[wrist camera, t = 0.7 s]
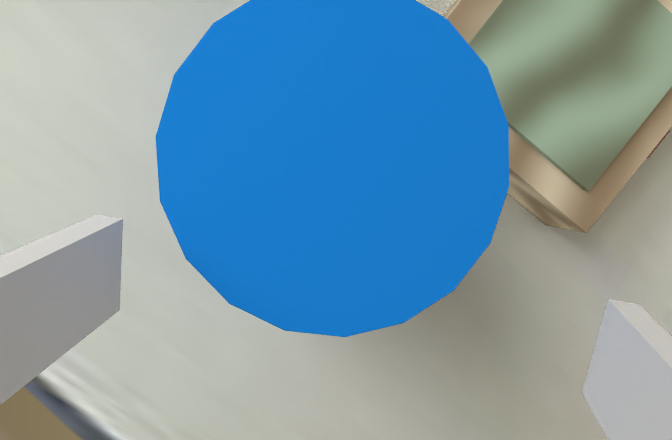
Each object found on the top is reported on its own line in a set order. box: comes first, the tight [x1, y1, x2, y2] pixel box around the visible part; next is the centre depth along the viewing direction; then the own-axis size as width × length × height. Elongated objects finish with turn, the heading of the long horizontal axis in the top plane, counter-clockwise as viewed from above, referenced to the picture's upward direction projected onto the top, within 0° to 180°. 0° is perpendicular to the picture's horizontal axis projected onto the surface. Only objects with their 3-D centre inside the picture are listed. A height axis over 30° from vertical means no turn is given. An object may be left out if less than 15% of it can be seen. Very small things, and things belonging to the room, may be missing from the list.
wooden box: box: [444, 0, 672, 233], centre depth 39 cm, size 17×16×7 cm
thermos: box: [156, 0, 509, 337], centre depth 29 cm, size 11×11×25 cm
